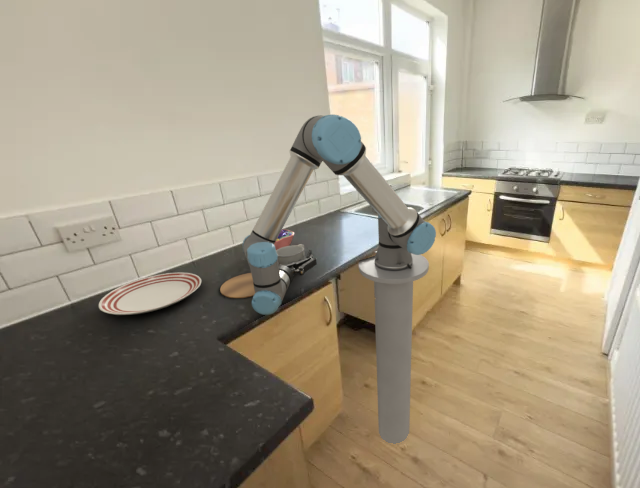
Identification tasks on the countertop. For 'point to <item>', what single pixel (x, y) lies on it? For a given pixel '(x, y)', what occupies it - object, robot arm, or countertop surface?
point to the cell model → (284, 239)
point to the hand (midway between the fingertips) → (292, 253)
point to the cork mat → (238, 287)
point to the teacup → (290, 254)
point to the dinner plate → (149, 293)
